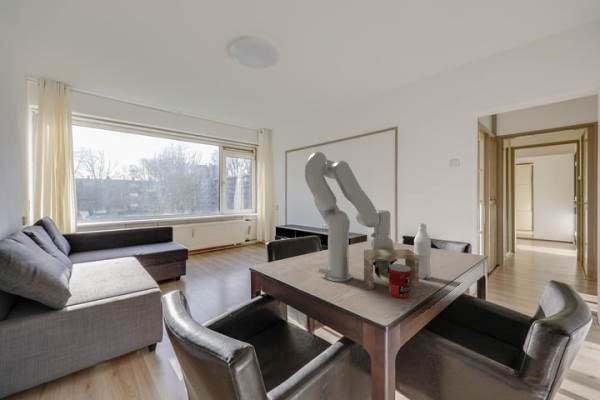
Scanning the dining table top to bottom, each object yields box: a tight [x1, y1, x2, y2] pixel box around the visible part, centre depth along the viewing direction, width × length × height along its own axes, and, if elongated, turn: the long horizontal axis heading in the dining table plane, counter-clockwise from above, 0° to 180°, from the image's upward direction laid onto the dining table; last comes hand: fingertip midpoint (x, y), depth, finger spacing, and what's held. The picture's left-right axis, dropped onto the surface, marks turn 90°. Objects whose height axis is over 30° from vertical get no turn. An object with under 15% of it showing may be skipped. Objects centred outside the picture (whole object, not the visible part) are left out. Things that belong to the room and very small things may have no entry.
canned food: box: [388, 263, 412, 300], centre depth 95 cm, size 8×8×11 cm
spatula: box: [378, 261, 389, 288], centre depth 109 cm, size 4×20×7 cm, turn 179°
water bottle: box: [413, 223, 432, 280], centre depth 115 cm, size 7×7×25 cm
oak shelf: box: [363, 249, 420, 290], centre depth 106 cm, size 20×10×14 cm, turn 89°
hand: (382, 274), depth 117 cm, fingers closed on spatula, 4 cm apart
